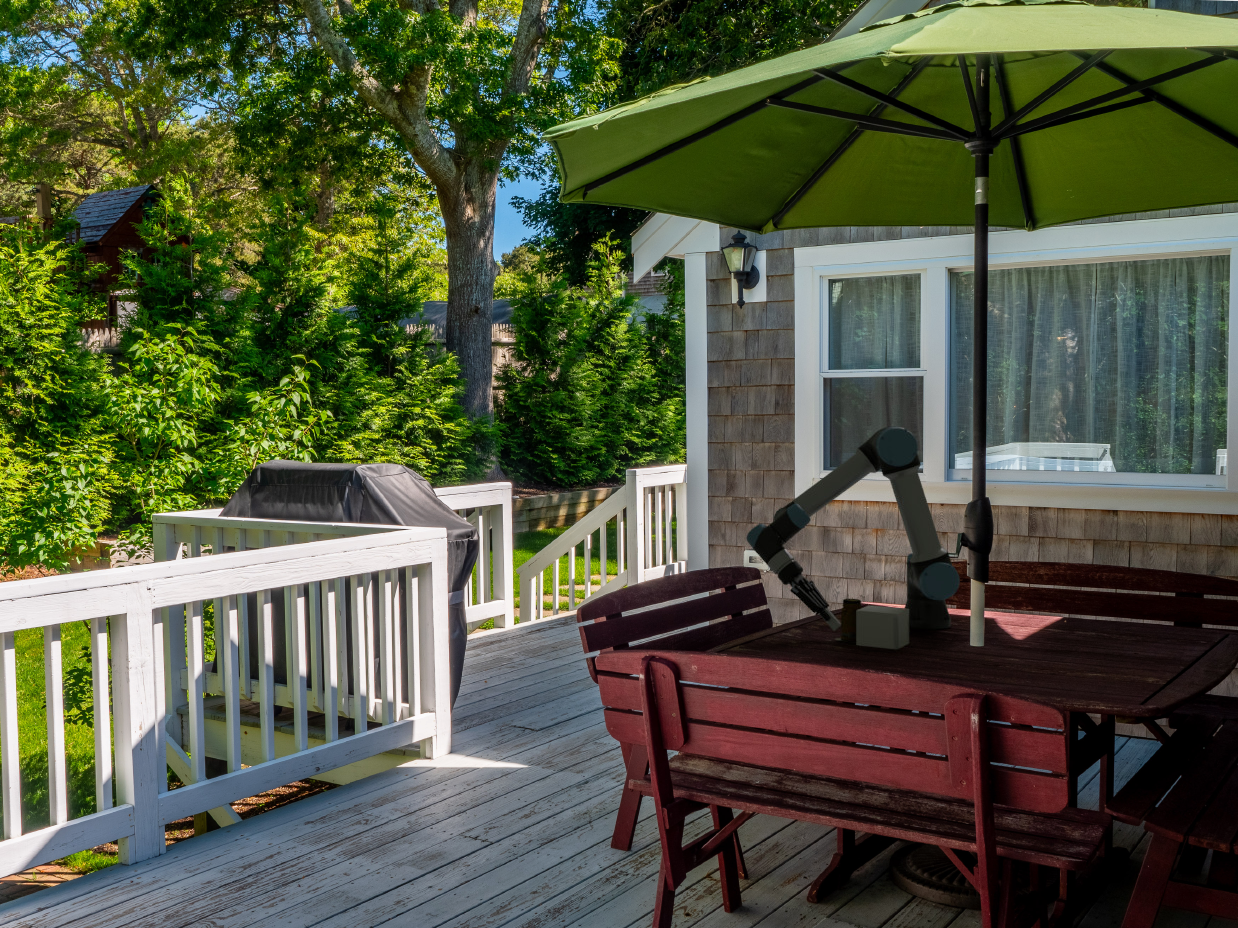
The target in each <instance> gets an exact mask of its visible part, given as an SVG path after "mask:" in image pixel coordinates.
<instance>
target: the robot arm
mask: <svg viewBox="0 0 1238 928" xmlns="http://www.w3.org/2000/svg"><path fill="white" fill-rule="evenodd" d="M918 448H919V445H918V441H917V439H916V437H915V435H914V434H913V433H912V432H911V431H910V430H908V429H906V428H905V427H902V426H894V425H893V426H889V427H883V428H880V429H879V430H877V431H875V433H874V434H872V435H871V436H870V437H869V438H868V439H867V440H866V441H865V442H863V444H861V445H859V446H858V447H857V448H856V451H855V454H853V455H852V456H851V457H849V458H847V460H845V461H844V462H842V463H841V464H839V465H838V466H837V467H835V468H834V469H833V470H832V471H830V472H829V473H828V474H827V475H825V476H824V477H822V478H821V479H819V480H818V481H817V482H816V483H814V484H813V485H812V486H810V487H808V488H807V489H806V490H805V491H803V492H802V493H801V494H799V495H798V496H796V497H795V498H794V499H793V500H792V501H790V502H789V503H788V504H786V505H784V506H782V507H780V508H779V509H778V510H776V512H775V513H774V514H773V515H774V516H773V521H772V522H771V523H769V524H768V525H765V524H764V523H759V524H757V525H756V526H754V527H752V529H750V531H748V533H747V535H746V541H747V543H748V544H749V546H751V548H752V550H753V551H754V552H755V553H756V554H757V555H758V556H759V558H760V559H761V560H762V561H763V562H764V563H765V564H766V565H767V566H768V568H769V571H770V572H773V574H775V575H777V578H778V580H779V581H780V582H781V583H782V584H783V585H784V586H787V585H789V586H790V587H792V588H791V589H790V593H792V594H793V595H795V596H796V597H797V598H798V599H799V600H800V601H801V603H803V604H804V605H805V606H806V607H807V608H808V609H809V610H810V611H811V612H812V613H814V615H815V616H820V617H821V618H822V619H823V620H824V622H826V624H827V625H828V626H829V627H830V629H831V630H832V631H833V632H834V631H837V630H838V629H839V628H841V621H840V620H839V619H838V618H837V617H836V616H835V615H834V613H833V612H831V610H830V609H829V607H830V604H829V603H828V602H827V600H826V599H825V598H824V595H823V594H822V593H821V592H820V591H819V589H818V587H817V586H816V585H815V582H814V581H813V580H810V581H809V580H808V579H807V578H806V577H805V576H803V574H802V573H803V571H804V568H803V567H802V566H801V565H800V563H799V562H798V561H797V560H795V557H794V556H793V555H792V554H791V553H790V552H789V550H787V549H786V547H784V545H785V544H786V543H788V541H790V540H791V539H792V538H794V536H796V535H797V534H799V532H801V531H802V530H803V529H805V527H807V525H808V524H810V522H811V517H813V515H815V514H816V513H818V512H819V511H820V510H822V509H823V508H825V506H827V505H828V504H830V503H831V502H832V501H834V500H835V499H836V498H838V497H840V496H841V495H842V494H844V493H845V492H846V491H848V490H849V489H850V488H852V487H853V486H854V485H856V484H857V483H858V482H860V481H861V480H862V479H864V478H865V477H867V476H868V475H869V474H870V473H871V474H876V473H878V472H879V471H880V470H881V473H882V476H883V477H885V478H886V479H888V480H889V481H890V486H891V488H892V491H893V495H894V499H895V500H896V504H897V507H898V511H899V513H900V517H901V520H902V523H903V524H902V525H903V527H904V530H905V533H906V537H907V540H908V542H909V545H910V549H911V553H908V555H907V557H906V562H905V563H906V603H905V606H904V609H909V628H913V629H921V630H922V629H923V630H940V629H941V630H943V629H948V628H950V627H952V626H951V625H952V618H951V616H950V612H949V610H948V607H947V604H946V600H948V599H950V598H952V597H953V596H954V595H955V594H956V592H957V591H958V590H959V587H960V582H961V581H960V580H961V579H960V575H959V573H958V571H957V569H956V568H955V567H954V566H953V563H952V560H951V556H950V553H949V551H948V549H946V548H945V547H943V546H942V545H941V542H940V538H939V536H938V532H937V529H936V526H935V523H934V519H933V516H932V514H931V511H930V508H929V504H928V501H927V497H926V495H925V492H924V488H923V484H922V481H921V478H920V475H919V473H918V472H919V469H920V467H921V461H920V458H919V455H918Z"/></svg>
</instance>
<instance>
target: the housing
mask: <svg viewBox="0 0 1238 928" xmlns="http://www.w3.org/2000/svg"><path fill="white" fill-rule="evenodd" d="M904 608H905V607H904ZM904 608H901V607H888V606H880V605H879V606H878V605H877V606H876V605H867V606H865V607H861V609H859V610H856V643H855V644H856V646H861V647H870V648H871V647H872V648H881V649H889V650H891V649H892V650H899V649H901V648H903V647H905V646H907V645H908V644H910V627H909V609H904Z"/></svg>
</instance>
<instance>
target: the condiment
mask: <svg viewBox="0 0 1238 928" xmlns="http://www.w3.org/2000/svg"><path fill="white" fill-rule="evenodd" d="M861 608H862V600H861V599H858V598H844V599H842V608H841V609H840V610H841V613H840V614H841V615H840V618H841V619H840V623H841V626H840V638H835V640H836V641H841V642H846V643H847V642H848V643H852V644H856V610H859V609H861Z"/></svg>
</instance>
